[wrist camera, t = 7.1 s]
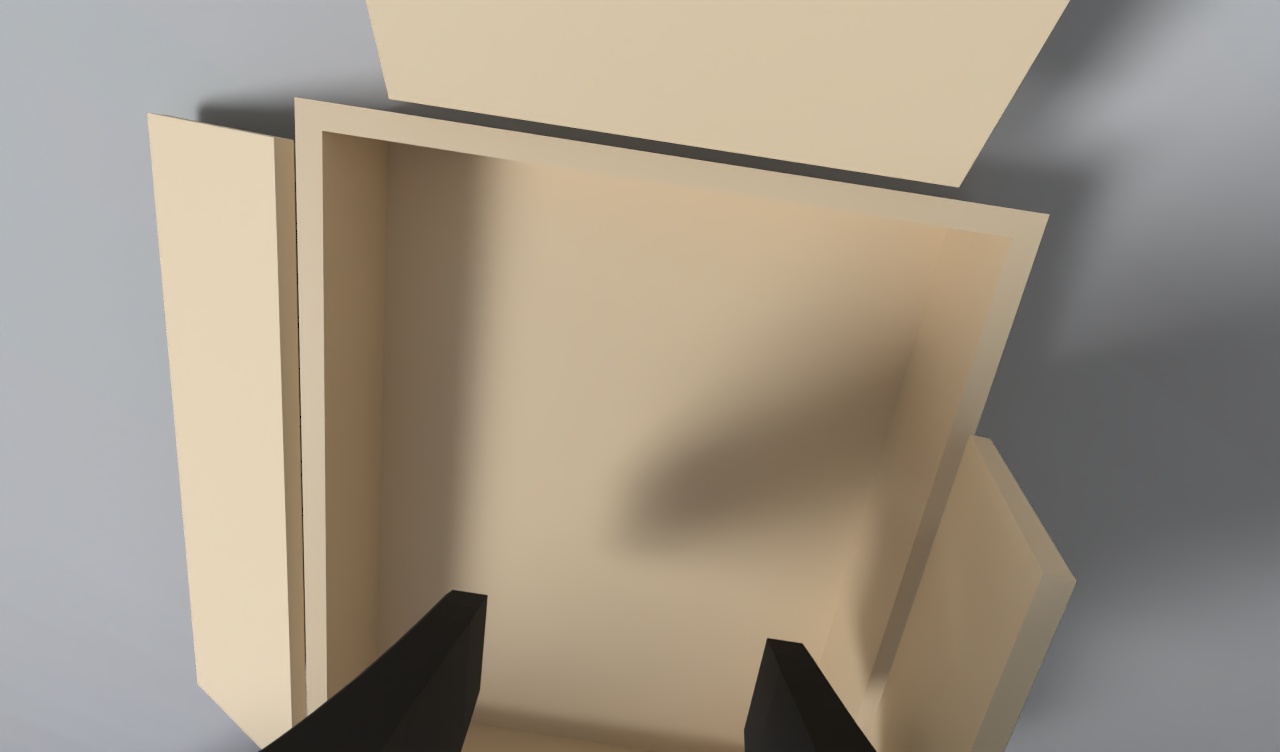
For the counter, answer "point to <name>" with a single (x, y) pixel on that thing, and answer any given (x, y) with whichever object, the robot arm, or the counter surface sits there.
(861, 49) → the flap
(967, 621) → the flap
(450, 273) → the carton
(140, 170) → the counter surface
